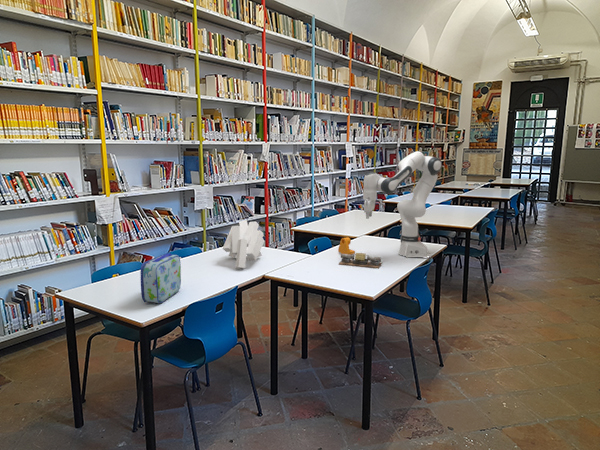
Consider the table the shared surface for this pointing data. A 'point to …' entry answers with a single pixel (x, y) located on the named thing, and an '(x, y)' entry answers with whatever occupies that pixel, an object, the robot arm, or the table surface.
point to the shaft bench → (347, 261)
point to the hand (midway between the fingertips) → (368, 217)
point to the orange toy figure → (345, 246)
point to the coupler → (360, 257)
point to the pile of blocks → (244, 242)
